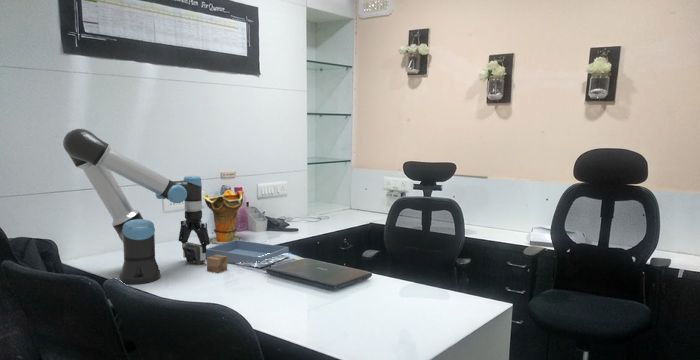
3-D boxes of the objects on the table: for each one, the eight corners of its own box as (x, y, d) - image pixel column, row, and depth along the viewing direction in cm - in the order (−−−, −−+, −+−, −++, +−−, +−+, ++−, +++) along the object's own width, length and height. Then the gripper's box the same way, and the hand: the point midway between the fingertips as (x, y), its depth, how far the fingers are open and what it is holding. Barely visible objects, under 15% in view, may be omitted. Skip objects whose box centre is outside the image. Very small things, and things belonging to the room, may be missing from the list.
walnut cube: (217, 273, 206) (217, 259, 206) (206, 271, 209) (206, 257, 208) (227, 269, 212) (227, 256, 211) (216, 267, 214) (216, 254, 214)
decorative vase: (195, 243, 258) (196, 190, 257) (220, 236, 280) (221, 188, 278) (229, 246, 251) (230, 193, 250) (251, 239, 273) (253, 190, 272)
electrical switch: (206, 263, 221) (204, 243, 219) (196, 266, 217) (194, 247, 215) (192, 260, 226) (190, 241, 225) (183, 263, 222) (181, 244, 220)
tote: (260, 268, 213) (260, 257, 213) (205, 259, 228) (205, 248, 227) (288, 257, 233) (288, 247, 232) (236, 249, 247) (236, 239, 247)
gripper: (218, 210, 217) (218, 259, 220) (181, 206, 227) (182, 253, 229) (206, 213, 211) (207, 263, 213) (169, 209, 220) (170, 257, 223)
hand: (194, 258), depth 221 cm, fingers closed on electrical switch, 9 cm apart
